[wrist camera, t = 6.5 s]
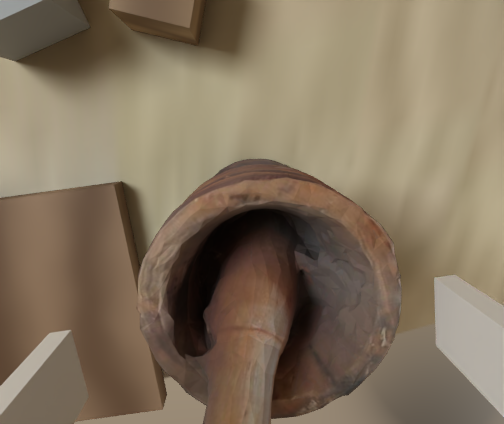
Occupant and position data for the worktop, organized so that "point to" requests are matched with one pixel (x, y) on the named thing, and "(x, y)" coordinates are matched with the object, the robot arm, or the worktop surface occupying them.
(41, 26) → the slate grey cube
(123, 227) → the walnut board
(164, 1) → the dark oak block
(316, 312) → the mortar and pestle
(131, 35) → the worktop surface
